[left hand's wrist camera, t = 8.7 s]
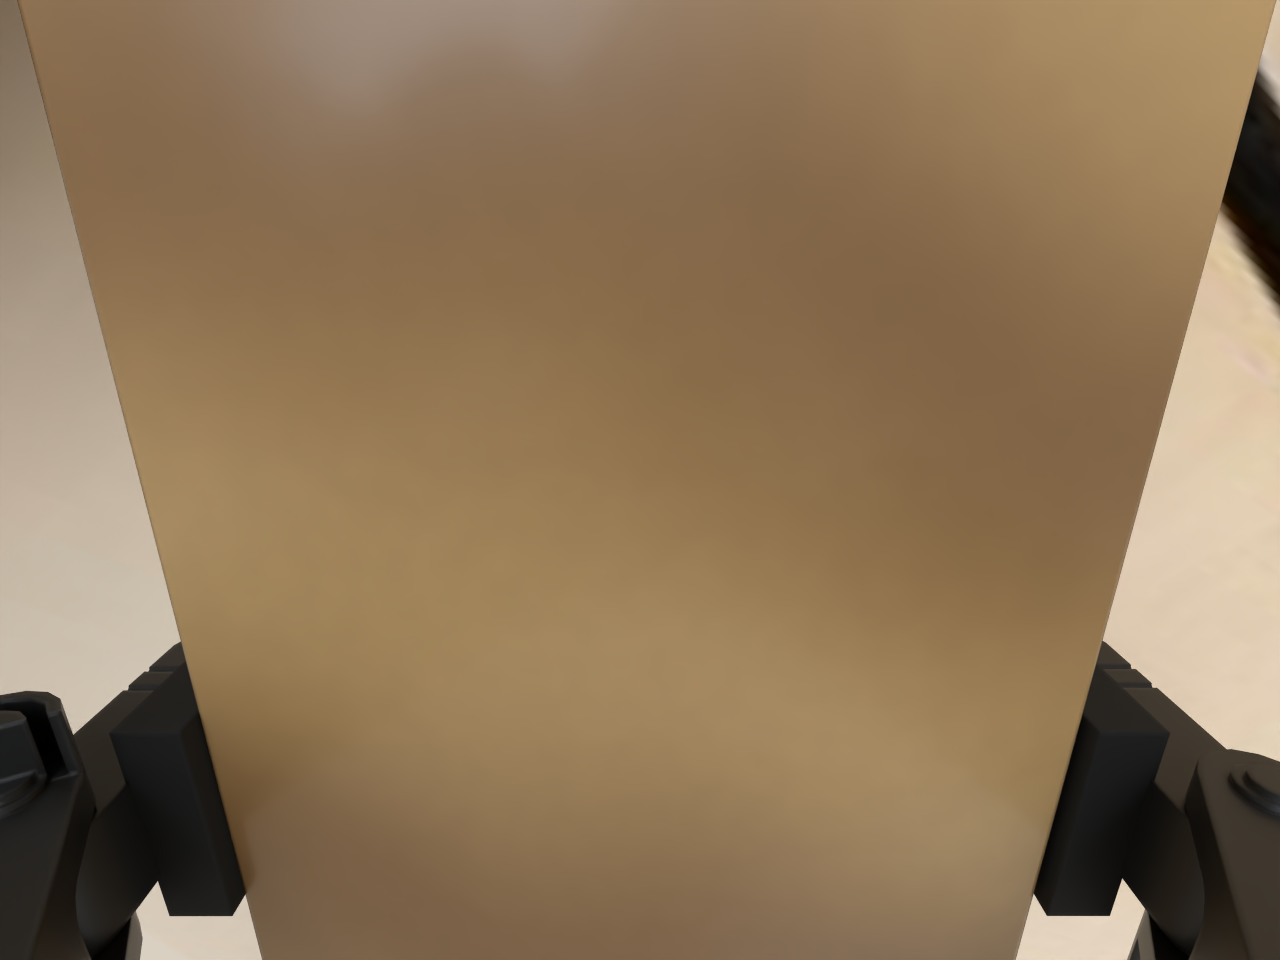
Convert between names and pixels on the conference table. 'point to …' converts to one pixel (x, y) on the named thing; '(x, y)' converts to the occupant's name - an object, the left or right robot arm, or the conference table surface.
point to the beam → (643, 439)
